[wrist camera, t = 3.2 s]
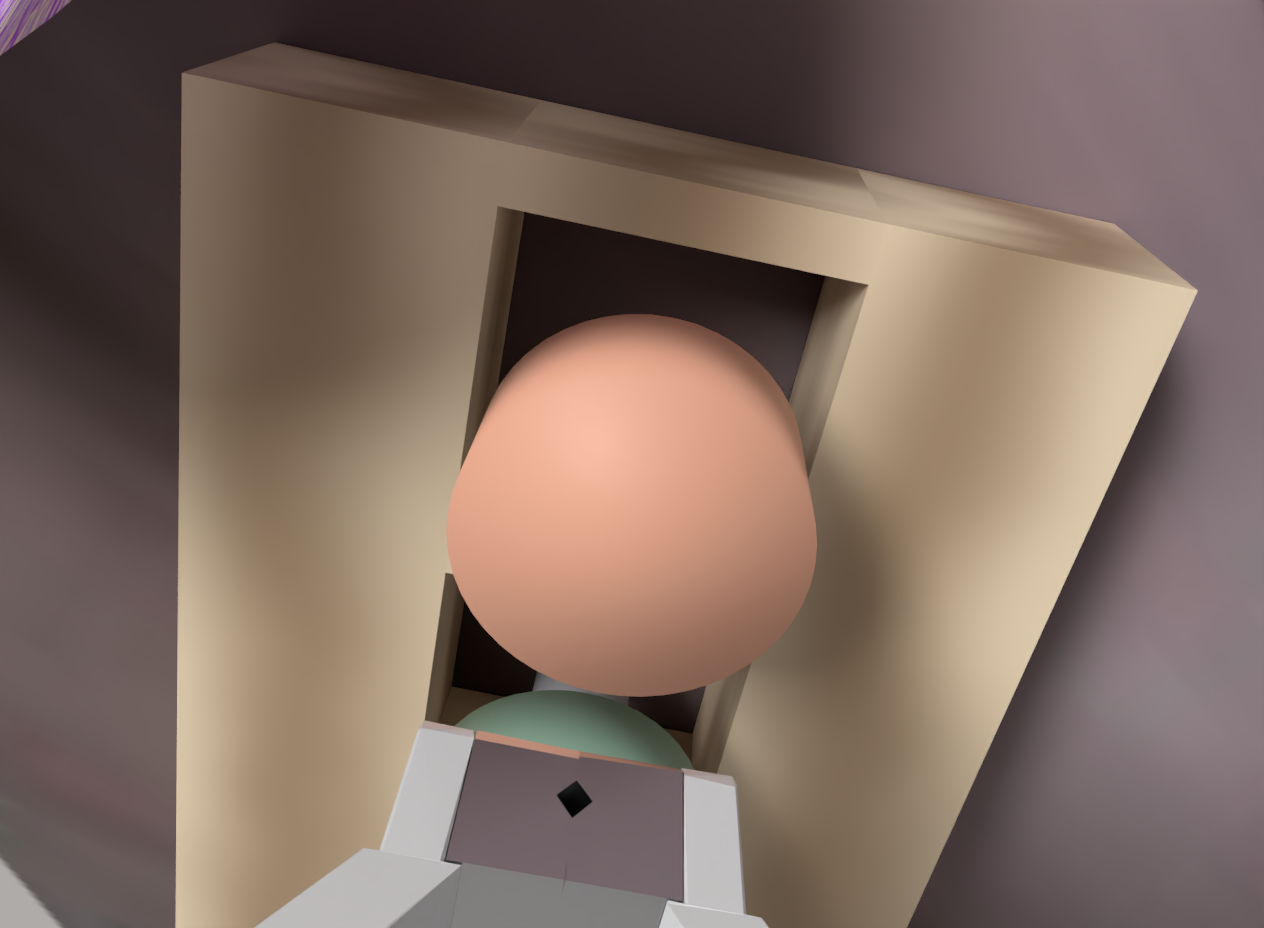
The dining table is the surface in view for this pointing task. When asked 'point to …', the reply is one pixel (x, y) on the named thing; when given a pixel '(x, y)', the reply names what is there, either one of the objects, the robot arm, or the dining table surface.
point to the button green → (578, 723)
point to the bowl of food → (24, 18)
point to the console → (459, 397)
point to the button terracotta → (635, 509)
